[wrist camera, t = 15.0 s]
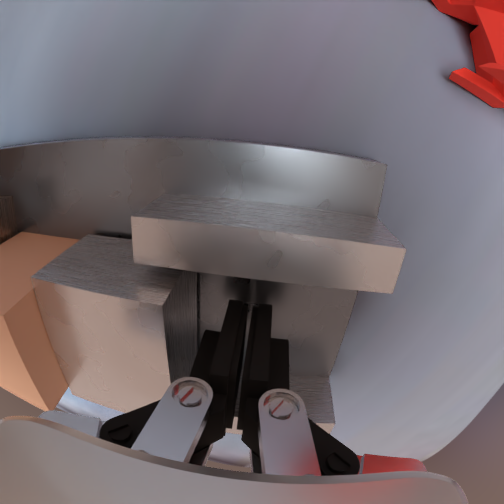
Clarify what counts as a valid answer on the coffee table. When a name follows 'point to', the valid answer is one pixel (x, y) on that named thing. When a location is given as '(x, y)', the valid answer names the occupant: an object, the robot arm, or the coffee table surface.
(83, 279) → the light grey sliding block
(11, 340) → the block
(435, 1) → the animal figurine
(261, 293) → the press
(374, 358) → the coffee table surface
